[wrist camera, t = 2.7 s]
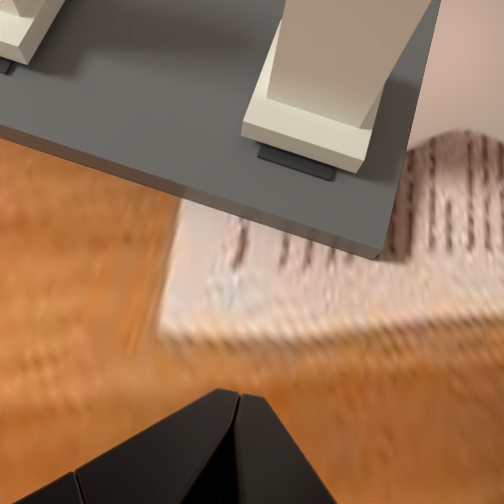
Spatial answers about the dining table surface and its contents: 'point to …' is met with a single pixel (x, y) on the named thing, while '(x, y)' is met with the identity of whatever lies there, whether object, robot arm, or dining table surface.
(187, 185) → the switch board
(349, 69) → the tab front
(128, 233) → the dining table surface
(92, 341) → the dining table surface
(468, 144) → the dining table surface
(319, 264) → the dining table surface
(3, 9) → the tab
